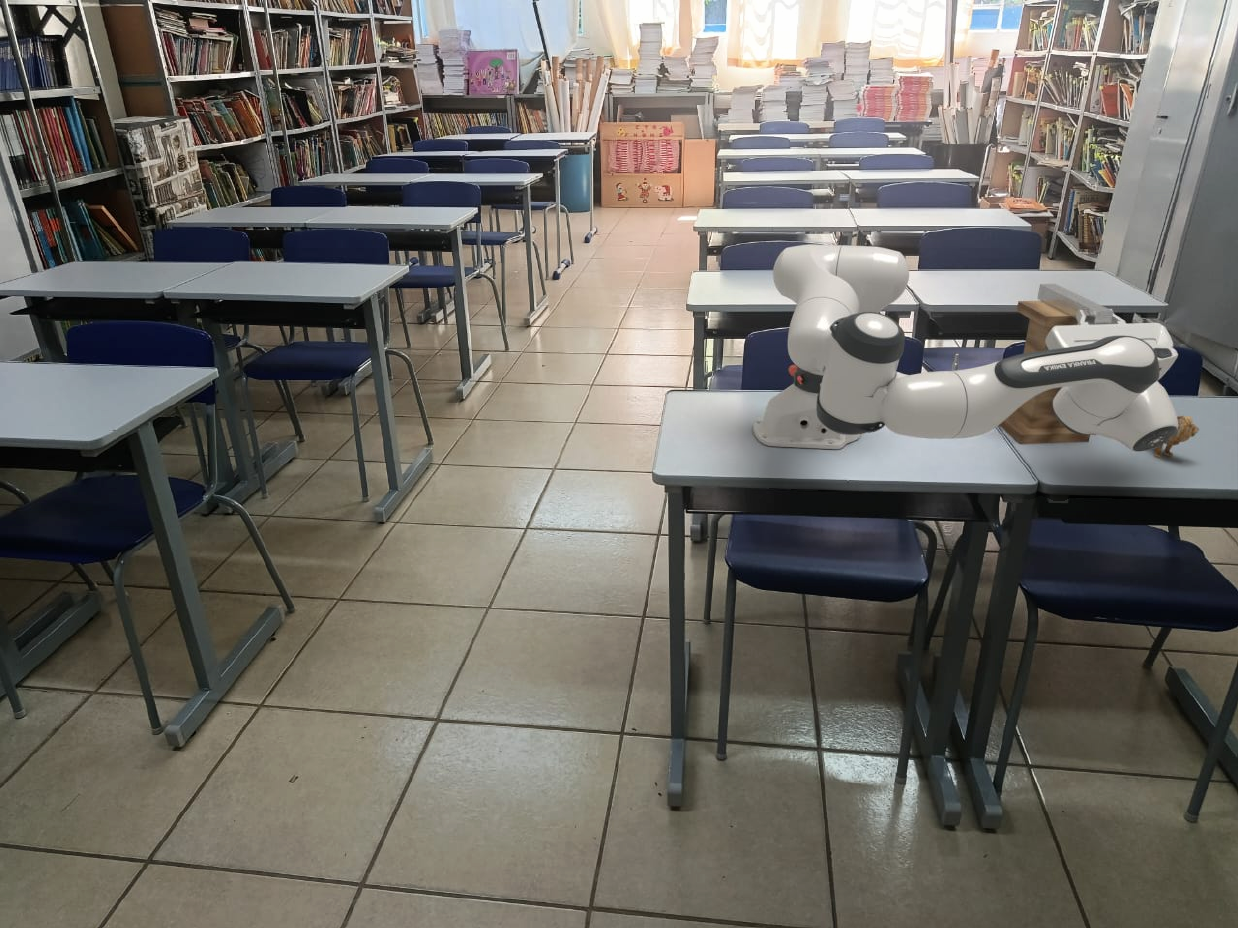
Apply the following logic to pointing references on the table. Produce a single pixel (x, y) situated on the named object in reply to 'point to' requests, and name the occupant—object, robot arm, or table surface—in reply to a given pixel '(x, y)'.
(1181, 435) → the lion figurine
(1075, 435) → the walnut stand
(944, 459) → the table surface
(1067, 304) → the metal block
